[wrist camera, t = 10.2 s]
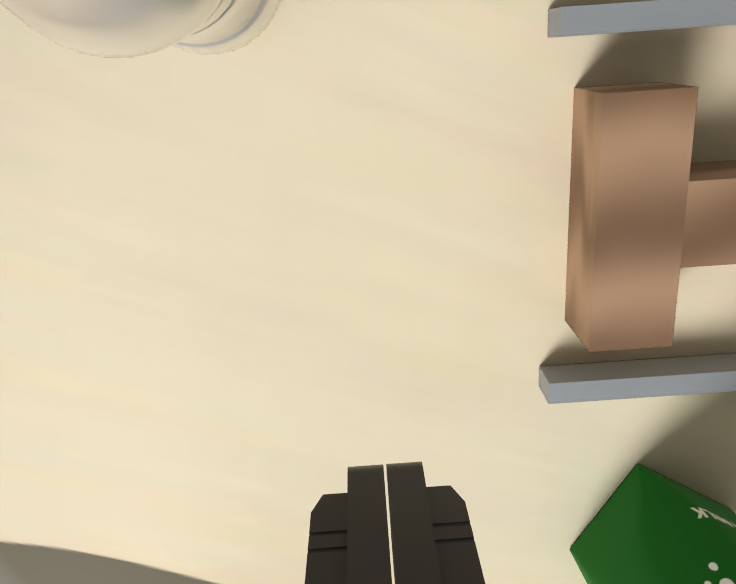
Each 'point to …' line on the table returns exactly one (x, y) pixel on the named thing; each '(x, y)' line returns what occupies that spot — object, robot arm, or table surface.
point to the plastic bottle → (145, 24)
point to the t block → (640, 213)
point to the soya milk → (658, 536)
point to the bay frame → (648, 376)
